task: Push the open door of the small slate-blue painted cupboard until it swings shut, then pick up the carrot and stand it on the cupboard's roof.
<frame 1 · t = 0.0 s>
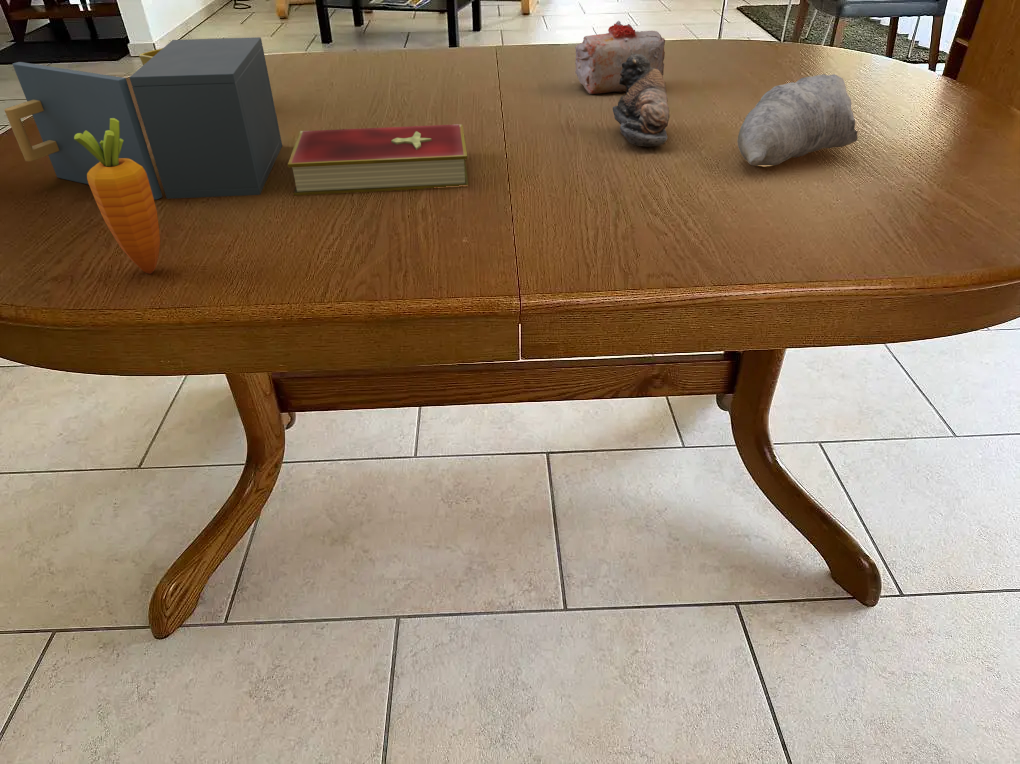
bison figurine: (638, 139, 104), on the table
flower pot: (198, 113, 115), on the table
hardcover book: (383, 174, 94), on the table
door: (74, 137, 86), point 7 cm above the table, hinge at 60.0°
carrot: (151, 275, 74), on the table
seashell: (790, 160, 97), on the table
cupboard: (228, 170, 95), on the table
food item: (617, 89, 123), on the table
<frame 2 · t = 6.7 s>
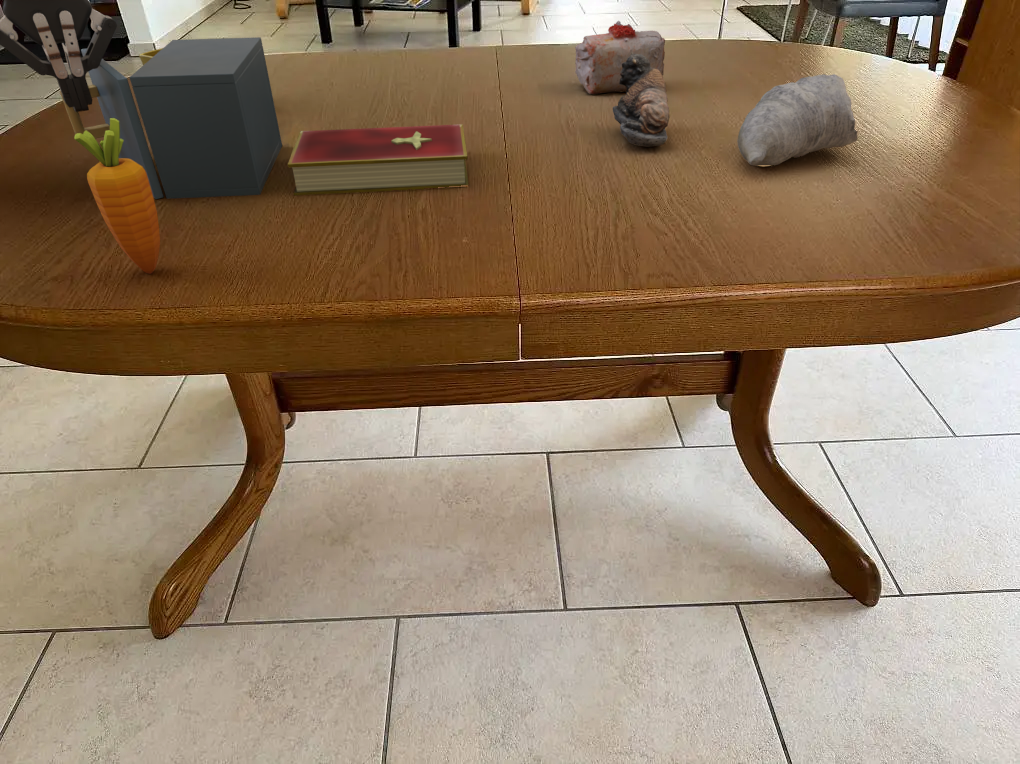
hand: (80, 109, 87), 9 cm above the table, tool pointing down, fingers closed
door: (103, 126, 89), point 7 cm above the table, hinge at 32.1°, touching gripper, hand
everything else where it was.
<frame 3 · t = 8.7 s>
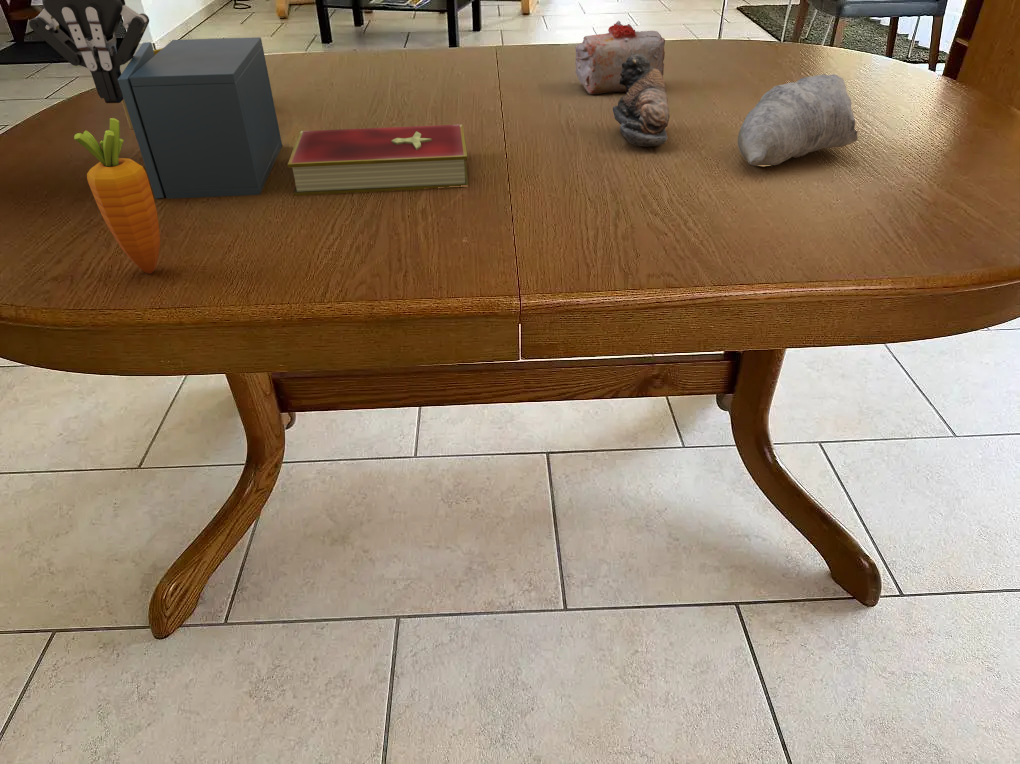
hand: (114, 101, 89), 9 cm above the table, tool pointing down, fingers closed
door: (135, 119, 90), point 7 cm above the table, hinge at 8.0°, touching hand
everything else where it was.
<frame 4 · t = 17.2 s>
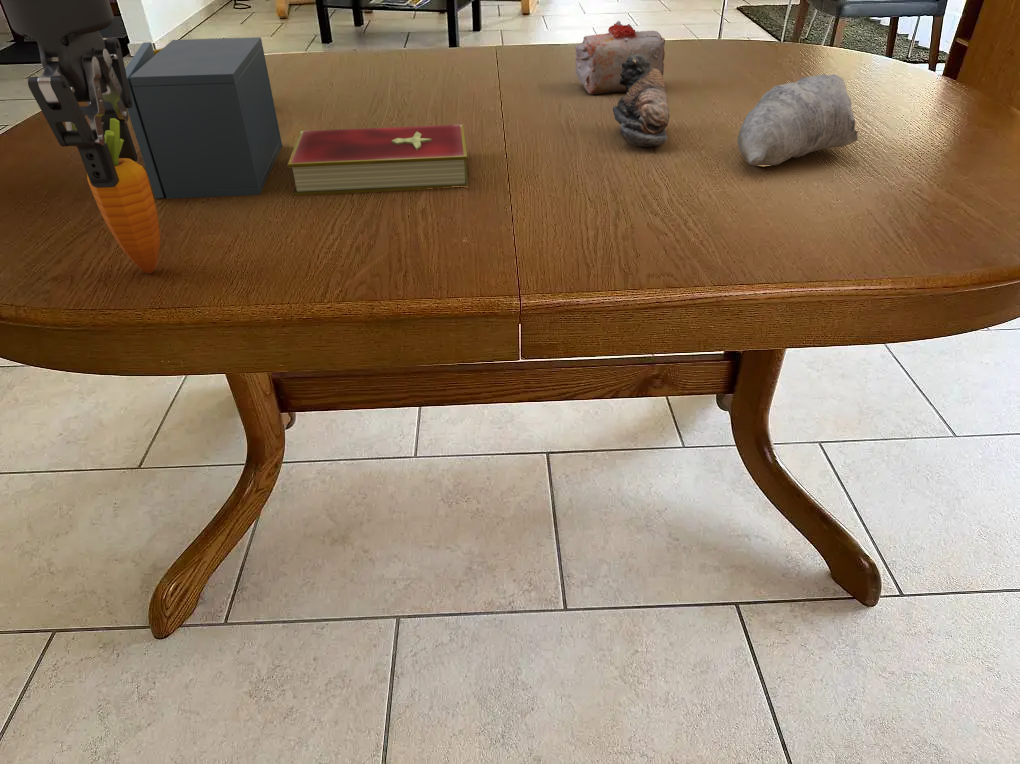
hand: (116, 173, 68), 10 cm above the table, tool pointing down, fingers closed on carrot, 4 cm apart
door: (135, 119, 90), point 7 cm above the table, hinge at 8.0°
carrot: (151, 275, 74), on the table, touching gripper
everything else where it was.
when the fingers open (24 cm above the table, at t = 24.6 s): carrot stays where it is, resting on cupboard.
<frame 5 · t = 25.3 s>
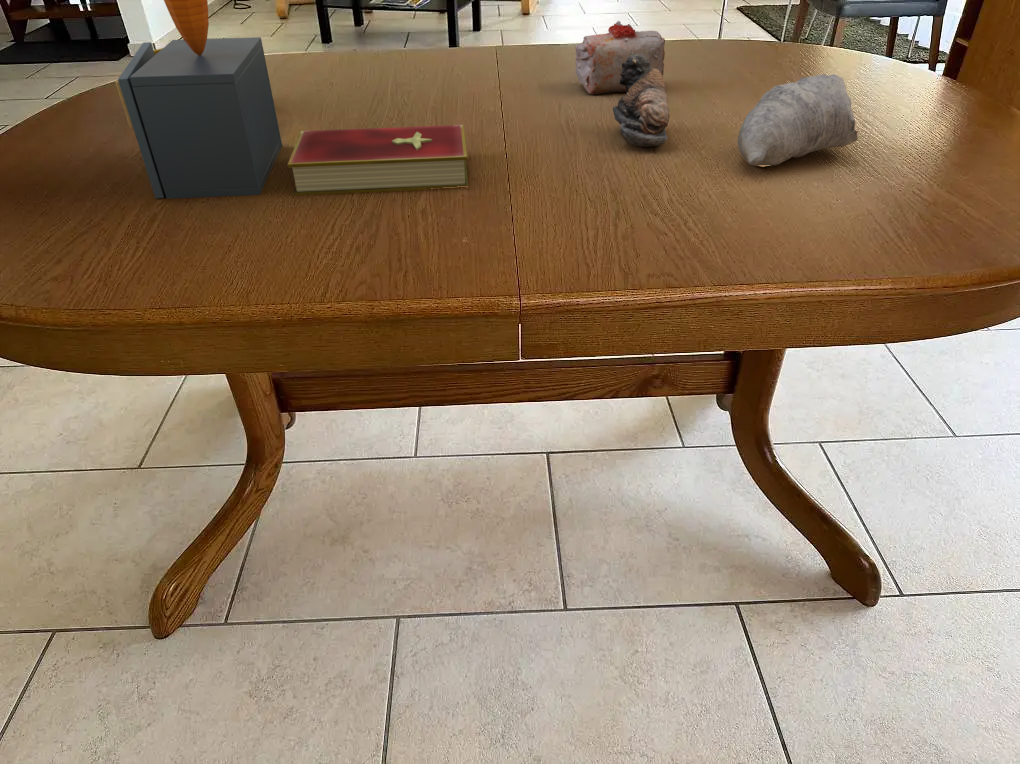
carrot: (200, 57, 87), point 14 cm above the table, touching cupboard
everything else where it was.
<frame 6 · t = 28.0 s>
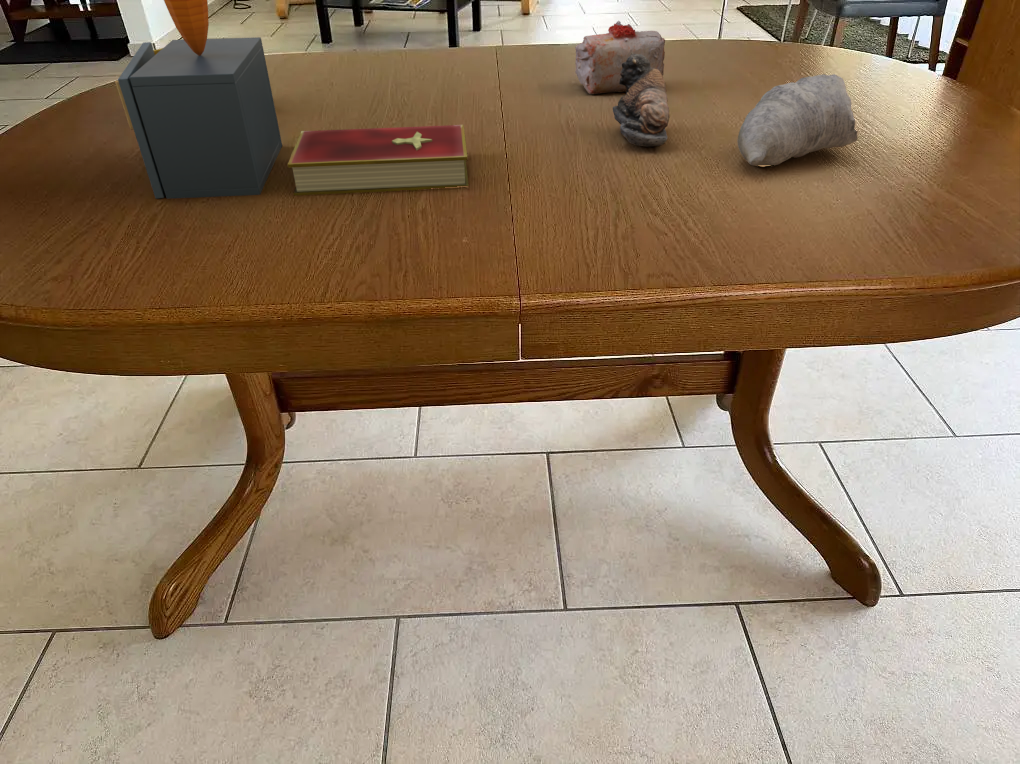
nothing on the table moved.
at the end: door at +8° (first picture: +60°); carrot inside the target area on the cupboard (0.1 cm from its centre), point 13.8 cm above the cupboard's base; carrot tilted 0° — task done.
